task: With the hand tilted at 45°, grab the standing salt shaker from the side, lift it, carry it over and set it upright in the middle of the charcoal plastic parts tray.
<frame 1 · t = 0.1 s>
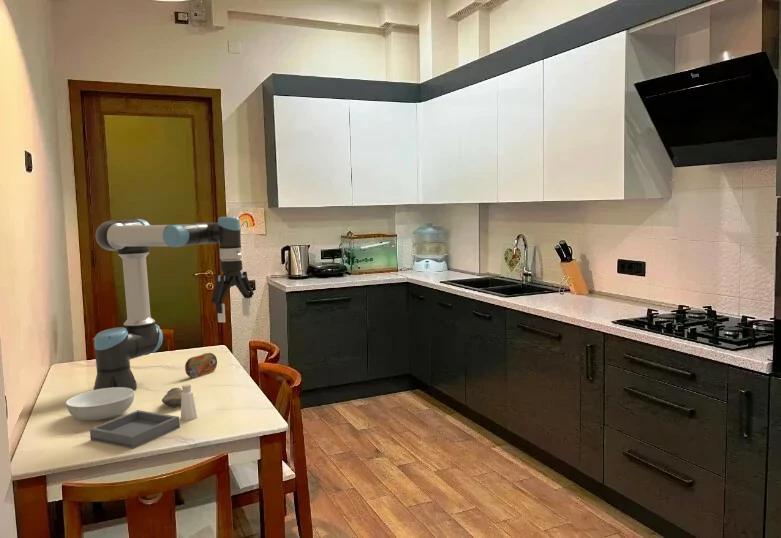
hand: (234, 318, 225), 28 cm above the table, fingers open, 13 cm apart
tin: (201, 375, 257), on the table
salt shaker: (189, 418, 205), on the table
parts tray: (136, 433, 192), on the table
serving bowl: (102, 416, 210), on the table
fossilized seashell: (175, 406, 218), on the table
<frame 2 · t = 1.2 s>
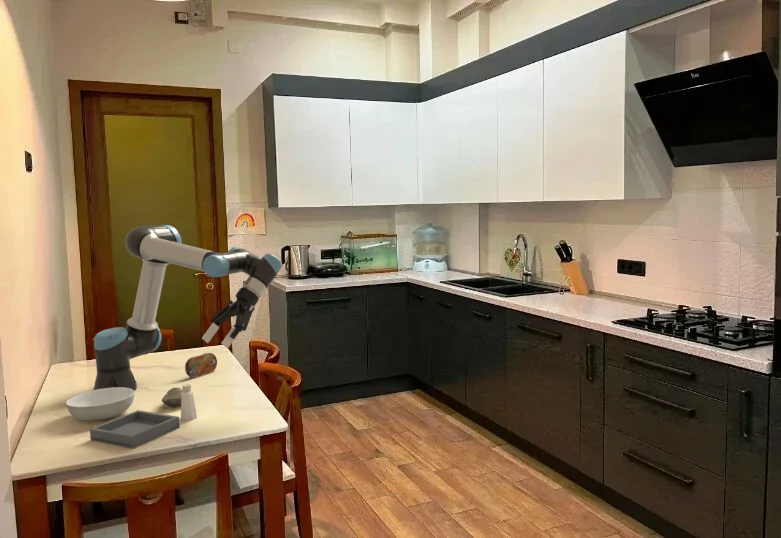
hand: (214, 343, 210), 23 cm above the table, fingers open, 13 cm apart
nothing on the table moved.
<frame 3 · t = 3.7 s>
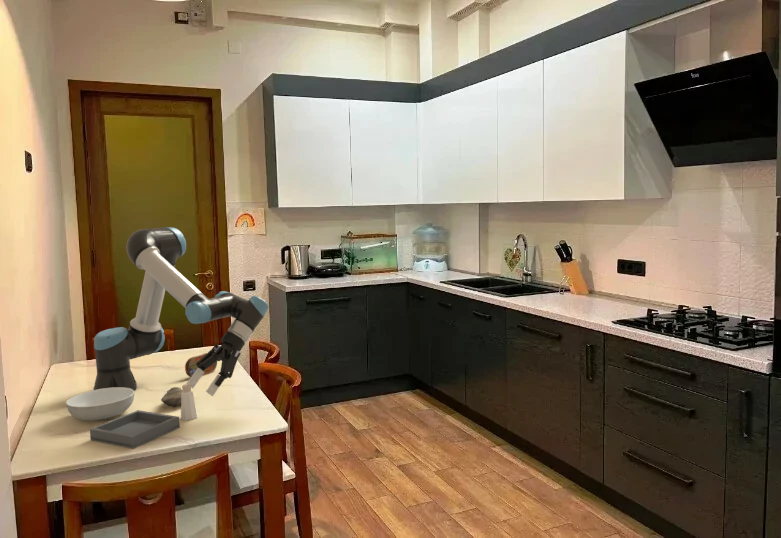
hand: (199, 390, 206), 9 cm above the table, fingers open, 13 cm apart
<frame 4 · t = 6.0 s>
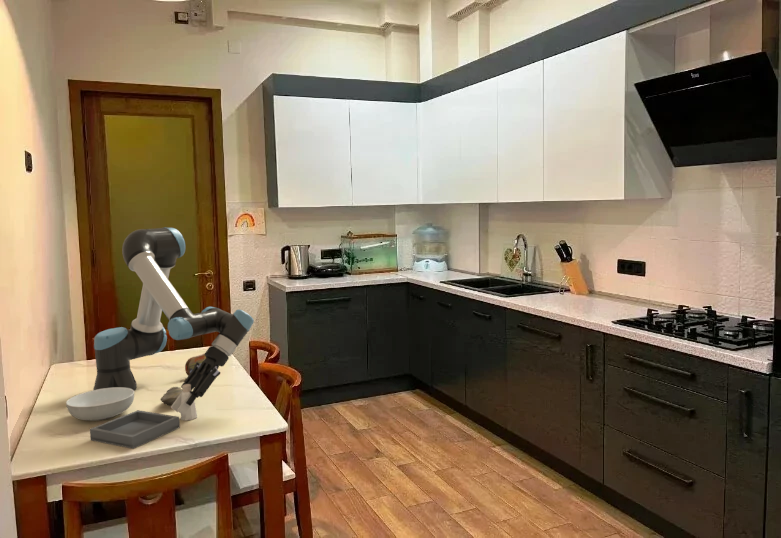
hand: (177, 411, 202), 3 cm above the table, fingers closed on salt shaker, 4 cm apart
salt shaker: (189, 418, 205), on the table, touching gripper
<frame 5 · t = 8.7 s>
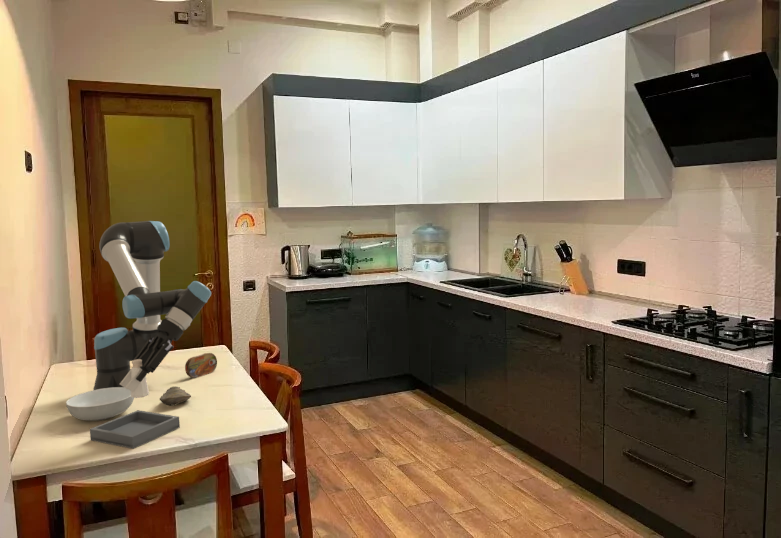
hand: (126, 387, 189), 15 cm above the table, fingers closed on salt shaker, 4 cm apart
salt shaker: (140, 395, 192), point 12 cm above the table, touching gripper
when the fingers open (6 cm above the table, at t = 11.3 s): salt shaker drops 1 cm, resting on parts tray.
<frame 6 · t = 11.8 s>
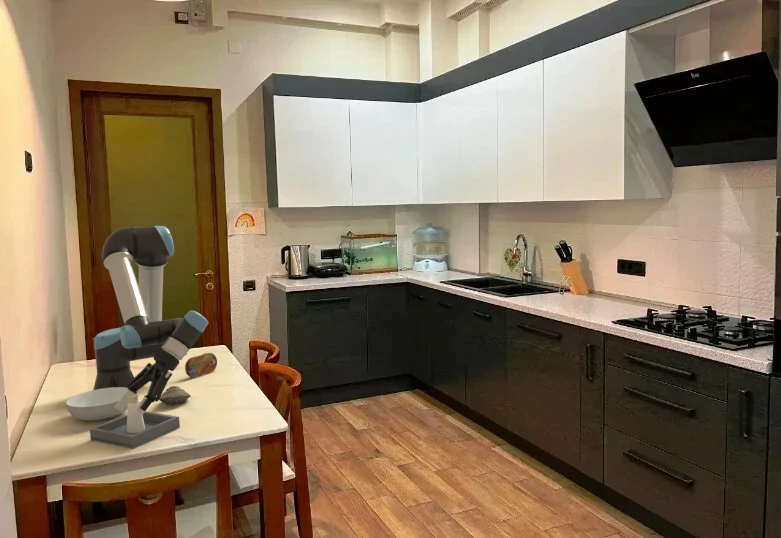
hand: (125, 414, 189), 7 cm above the table, fingers open, 12 cm apart
salt shaker: (136, 431, 192), point 1 cm above the table, touching parts tray
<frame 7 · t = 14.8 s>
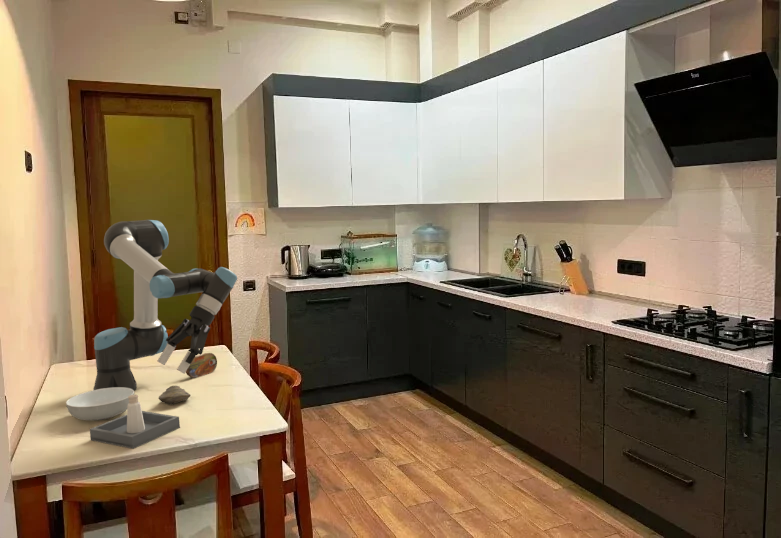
hand: (170, 367, 201), 18 cm above the table, fingers open, 13 cm apart
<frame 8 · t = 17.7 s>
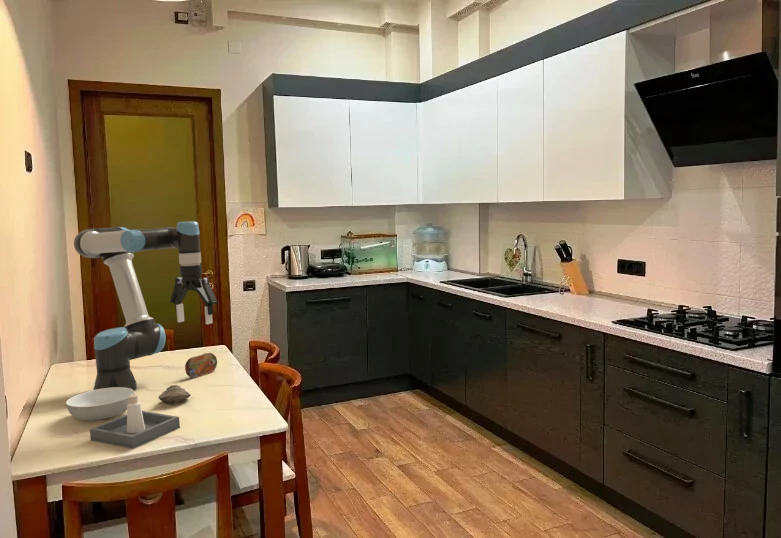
hand: (194, 322, 227), 27 cm above the table, fingers open, 13 cm apart
at the end: salt shaker inside the target area on the parts tray (0.1 cm from its centre), point 0.8 cm above the parts tray's base; salt shaker tilted 0°; the gripper is holding nothing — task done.
